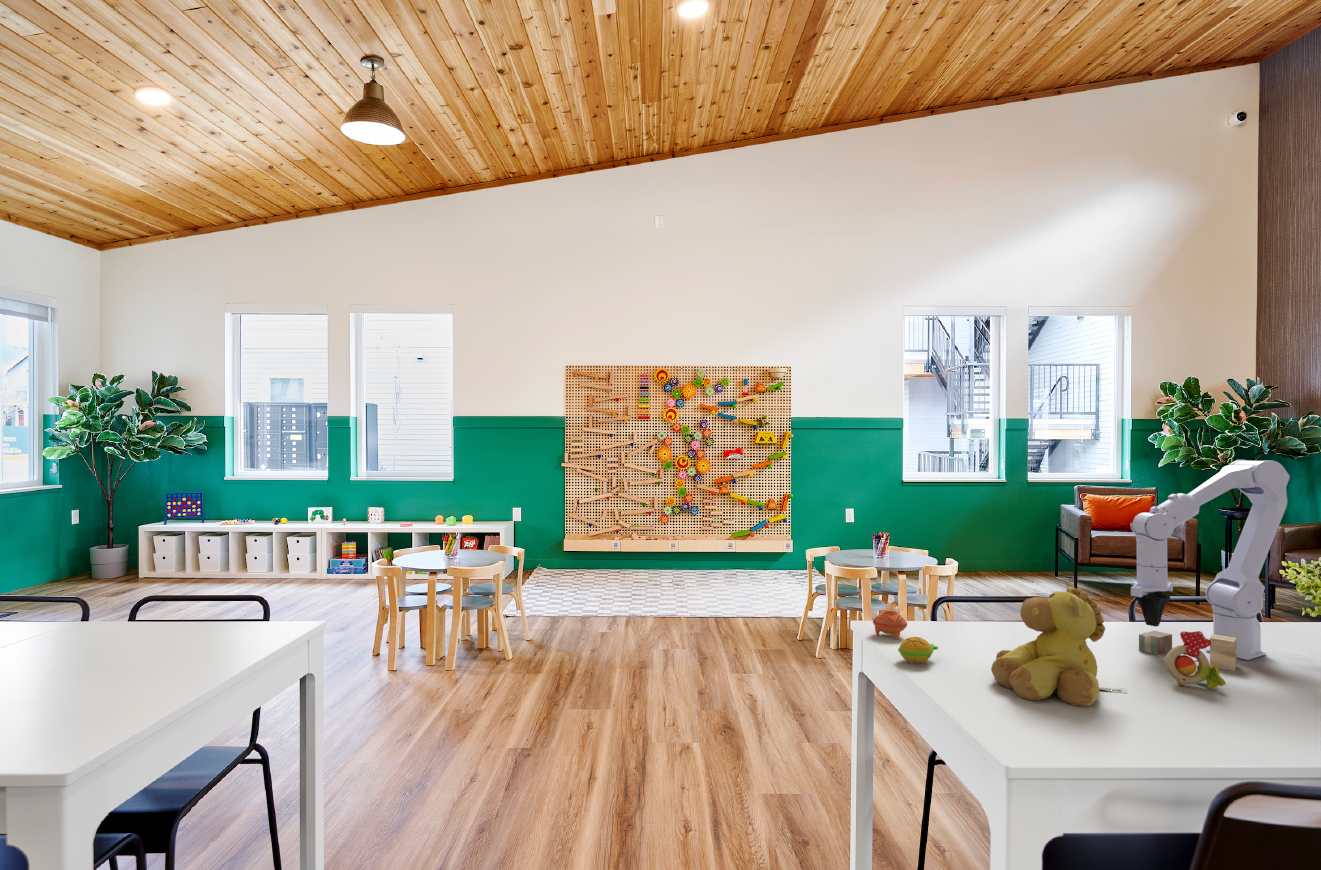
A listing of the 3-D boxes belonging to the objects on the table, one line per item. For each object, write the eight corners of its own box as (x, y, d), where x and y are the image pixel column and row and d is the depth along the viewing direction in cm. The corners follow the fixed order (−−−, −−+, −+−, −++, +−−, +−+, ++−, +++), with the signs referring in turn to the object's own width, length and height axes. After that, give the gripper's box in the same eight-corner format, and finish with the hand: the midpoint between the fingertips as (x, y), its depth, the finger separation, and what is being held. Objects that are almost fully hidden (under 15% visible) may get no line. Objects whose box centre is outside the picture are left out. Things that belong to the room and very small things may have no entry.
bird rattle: (1192, 702, 130) (1240, 685, 129) (1165, 647, 131) (1213, 629, 130) (1172, 690, 136) (1218, 674, 135) (1147, 638, 137) (1192, 621, 136)
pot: (876, 639, 163) (874, 610, 165) (872, 638, 171) (870, 610, 173) (911, 639, 162) (909, 610, 164) (905, 639, 170) (903, 610, 171)
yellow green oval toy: (891, 662, 146) (891, 637, 147) (912, 653, 153) (912, 629, 154) (923, 670, 142) (923, 644, 142) (943, 660, 149) (943, 635, 149)
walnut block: (1138, 650, 157) (1154, 646, 160) (1156, 654, 154) (1172, 649, 157) (1138, 634, 157) (1154, 630, 160) (1156, 638, 154) (1172, 634, 157)
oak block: (1212, 662, 148) (1212, 634, 149) (1236, 666, 146) (1236, 637, 146) (1210, 666, 146) (1209, 637, 146) (1234, 670, 143) (1234, 641, 143)
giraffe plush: (973, 671, 141) (973, 578, 142) (1086, 671, 142) (1086, 578, 142) (1028, 709, 121) (1028, 600, 121) (1160, 709, 121) (1160, 600, 122)
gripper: (1148, 560, 164) (1149, 617, 164) (1116, 565, 157) (1116, 625, 156) (1182, 565, 158) (1183, 624, 157) (1150, 570, 151) (1151, 632, 150)
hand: (1152, 625), depth 156 cm, fingers closed
